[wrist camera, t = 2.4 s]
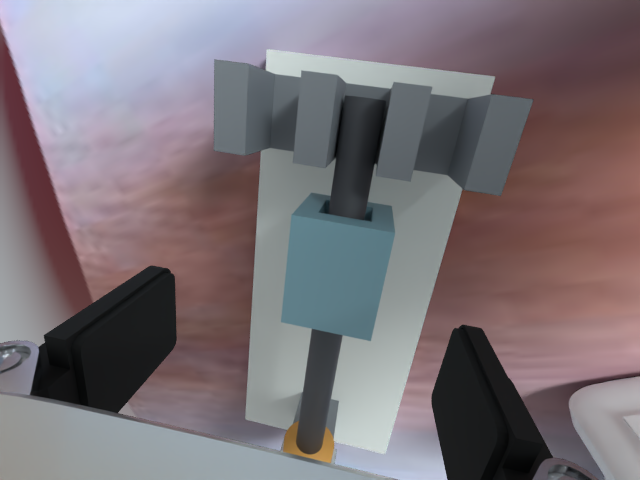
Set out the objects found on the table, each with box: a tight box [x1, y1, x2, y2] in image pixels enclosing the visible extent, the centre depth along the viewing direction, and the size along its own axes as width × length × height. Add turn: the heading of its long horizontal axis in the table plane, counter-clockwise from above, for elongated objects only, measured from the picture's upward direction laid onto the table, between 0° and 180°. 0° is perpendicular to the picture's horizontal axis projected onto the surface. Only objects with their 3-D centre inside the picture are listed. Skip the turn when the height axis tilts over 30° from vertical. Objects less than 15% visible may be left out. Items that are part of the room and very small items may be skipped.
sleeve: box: [281, 193, 395, 341], centre depth 15 cm, size 5×4×4 cm
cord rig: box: [214, 49, 533, 464], centre depth 19 cm, size 28×12×9 cm, turn 173°
